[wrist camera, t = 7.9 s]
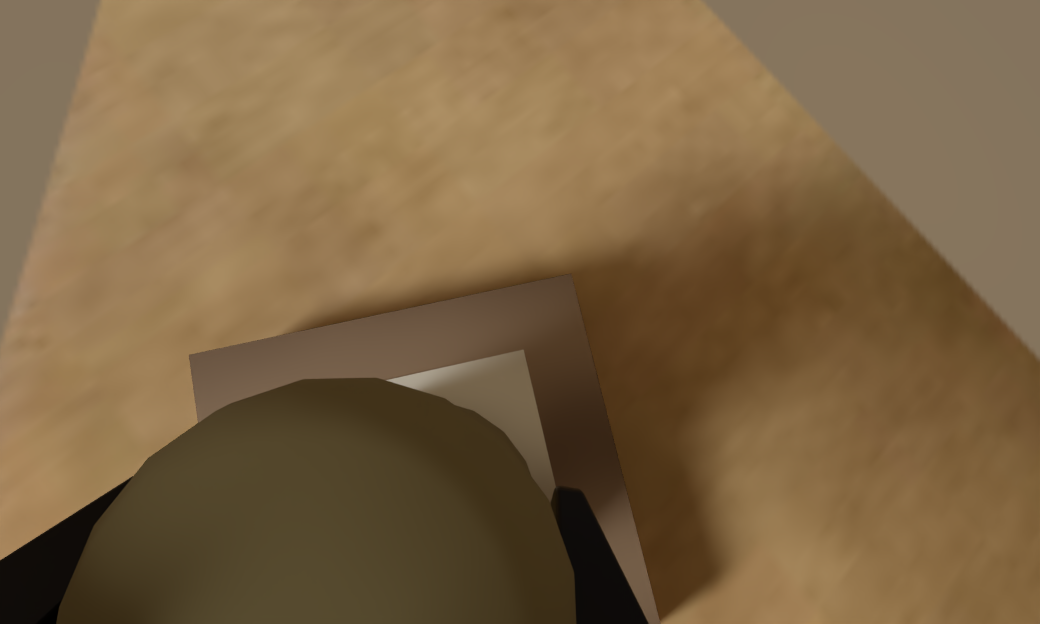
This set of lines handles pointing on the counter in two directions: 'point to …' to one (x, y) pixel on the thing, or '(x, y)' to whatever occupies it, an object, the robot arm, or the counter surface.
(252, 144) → the counter surface
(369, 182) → the counter surface
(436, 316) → the walnut plinth
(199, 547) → the olive green peg figure
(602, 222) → the counter surface
